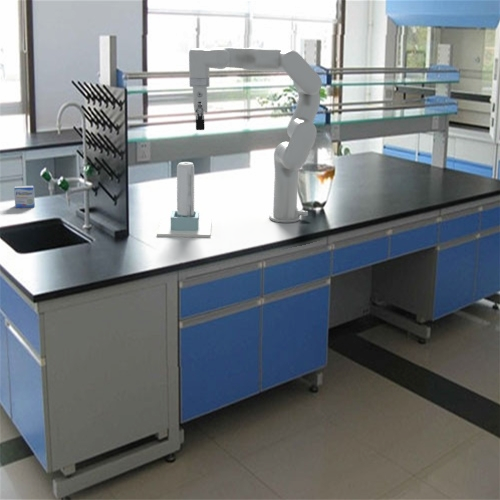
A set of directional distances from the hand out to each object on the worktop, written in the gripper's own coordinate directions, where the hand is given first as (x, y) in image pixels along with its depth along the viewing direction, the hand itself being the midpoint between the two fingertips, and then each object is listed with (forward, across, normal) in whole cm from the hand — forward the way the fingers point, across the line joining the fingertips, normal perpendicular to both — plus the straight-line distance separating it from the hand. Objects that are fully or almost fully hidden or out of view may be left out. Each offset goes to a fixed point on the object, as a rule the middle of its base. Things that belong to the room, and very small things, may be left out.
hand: (200, 127), depth 278 cm
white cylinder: (+37, -10, +6) cm, 39 cm away
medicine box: (+37, +22, +74) cm, 86 cm away
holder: (+38, -10, +6) cm, 39 cm away
